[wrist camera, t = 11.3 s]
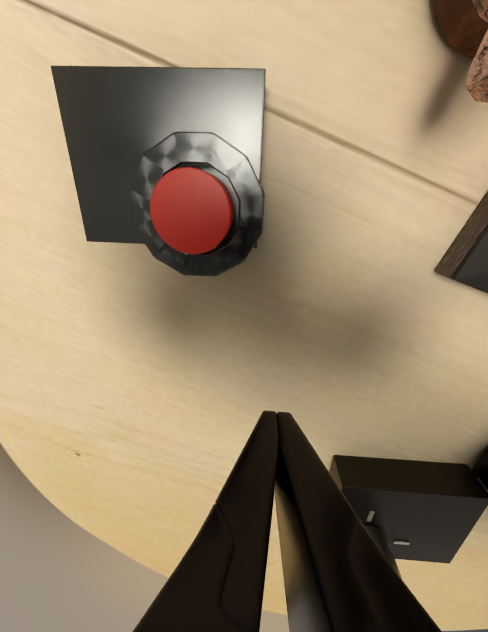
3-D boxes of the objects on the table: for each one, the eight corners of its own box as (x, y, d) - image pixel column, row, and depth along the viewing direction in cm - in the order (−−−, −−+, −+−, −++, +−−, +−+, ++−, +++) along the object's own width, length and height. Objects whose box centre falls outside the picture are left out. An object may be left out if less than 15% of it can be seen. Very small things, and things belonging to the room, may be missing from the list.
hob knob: (391, 527, 24) (420, 600, 20) (379, 553, 26) (403, 626, 22) (342, 522, 24) (359, 594, 20) (333, 549, 26) (347, 621, 22)
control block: (269, 85, 14) (272, 49, 11) (260, 261, 18) (259, 278, 14) (78, 82, 15) (18, 46, 11) (109, 254, 18) (72, 270, 15)
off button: (234, 171, 13) (231, 168, 11) (233, 248, 14) (230, 256, 13) (159, 168, 13) (144, 165, 11) (166, 245, 14) (154, 252, 13)
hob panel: (467, 464, 25) (494, 500, 22) (428, 535, 29) (446, 572, 27) (319, 454, 25) (326, 487, 22) (304, 525, 30) (309, 560, 27)
